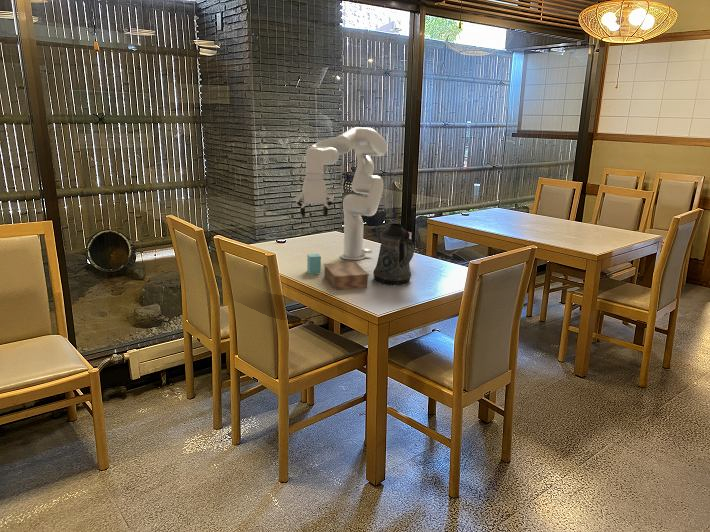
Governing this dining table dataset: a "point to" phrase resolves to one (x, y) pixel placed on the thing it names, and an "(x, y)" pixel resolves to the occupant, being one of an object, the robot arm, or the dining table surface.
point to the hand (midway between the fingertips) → (314, 216)
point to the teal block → (313, 263)
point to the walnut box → (346, 275)
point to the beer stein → (394, 256)
